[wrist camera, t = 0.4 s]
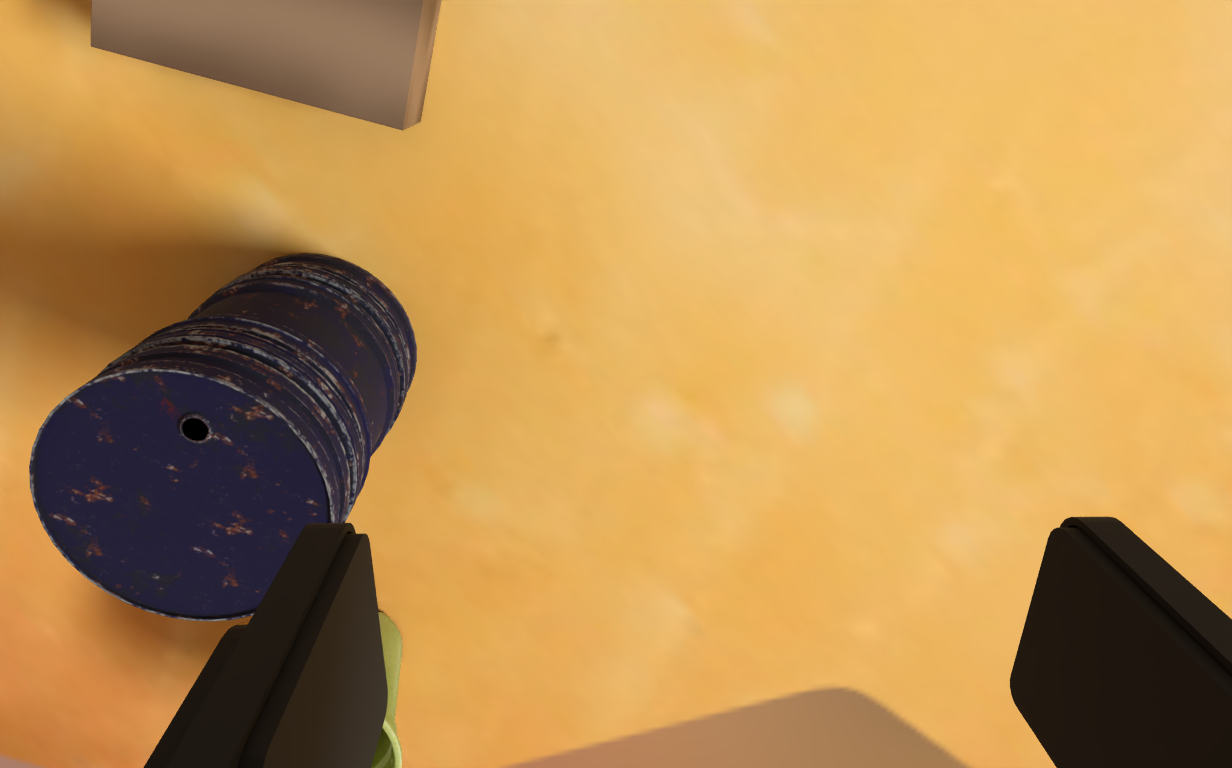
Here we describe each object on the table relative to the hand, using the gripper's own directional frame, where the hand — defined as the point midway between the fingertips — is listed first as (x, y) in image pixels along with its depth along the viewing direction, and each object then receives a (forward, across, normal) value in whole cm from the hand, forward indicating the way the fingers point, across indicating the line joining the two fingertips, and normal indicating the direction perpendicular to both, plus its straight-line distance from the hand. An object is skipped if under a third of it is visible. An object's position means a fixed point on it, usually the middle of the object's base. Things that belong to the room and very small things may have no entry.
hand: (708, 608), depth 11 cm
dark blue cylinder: (+30, +15, +7) cm, 34 cm away
